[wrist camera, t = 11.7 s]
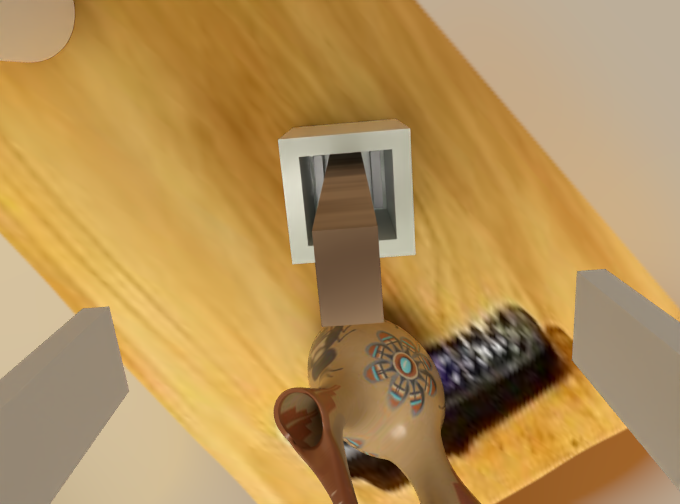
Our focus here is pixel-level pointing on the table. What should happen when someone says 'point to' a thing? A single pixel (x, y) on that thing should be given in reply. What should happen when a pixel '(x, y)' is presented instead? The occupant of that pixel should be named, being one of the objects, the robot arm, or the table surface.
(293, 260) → the white square tube
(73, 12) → the cup
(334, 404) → the ceramic vessel
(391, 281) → the table surface
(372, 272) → the brown wooden plank
